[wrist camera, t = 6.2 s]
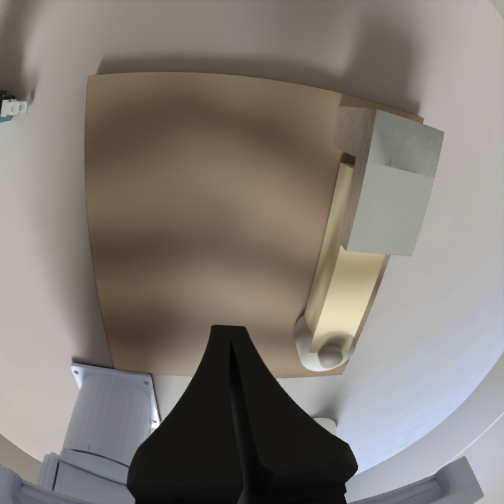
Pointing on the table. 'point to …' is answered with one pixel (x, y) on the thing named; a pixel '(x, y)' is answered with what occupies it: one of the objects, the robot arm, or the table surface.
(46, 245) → the table surface
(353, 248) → the block
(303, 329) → the link
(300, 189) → the base board
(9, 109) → the push button
